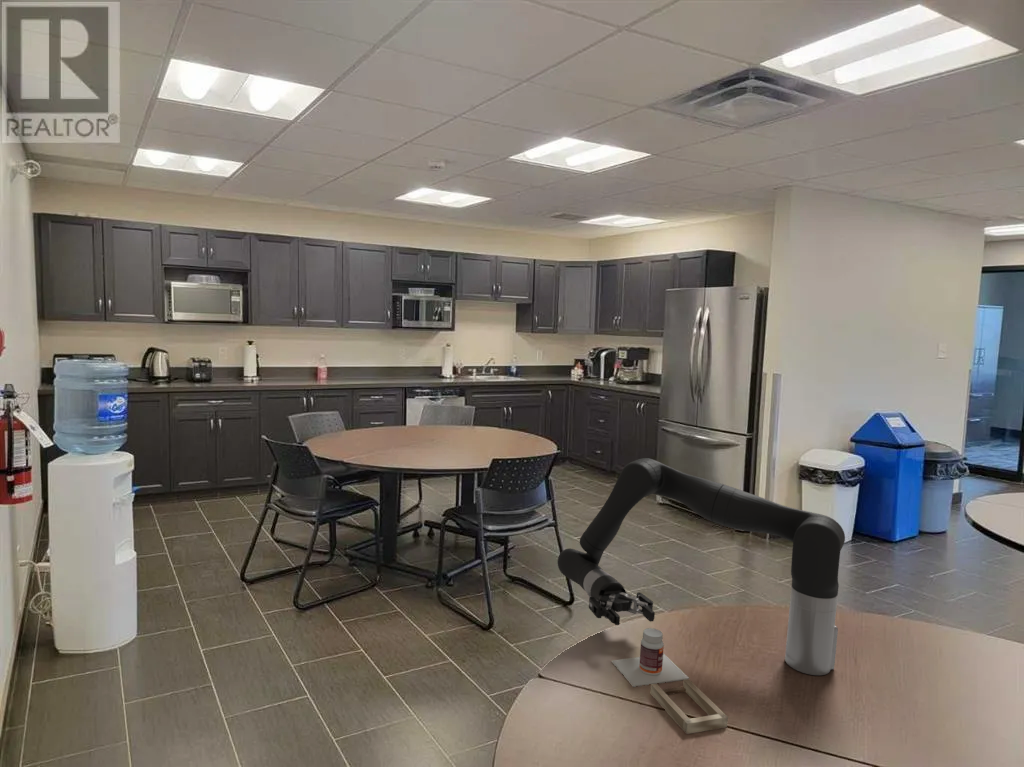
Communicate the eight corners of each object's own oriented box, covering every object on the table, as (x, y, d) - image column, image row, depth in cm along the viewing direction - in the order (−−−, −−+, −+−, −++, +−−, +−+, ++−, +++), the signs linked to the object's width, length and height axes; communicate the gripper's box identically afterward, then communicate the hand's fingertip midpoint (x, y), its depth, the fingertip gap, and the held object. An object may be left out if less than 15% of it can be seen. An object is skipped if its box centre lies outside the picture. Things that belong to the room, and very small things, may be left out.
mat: (664, 655, 146) (664, 653, 146) (689, 679, 136) (689, 677, 136) (611, 661, 142) (611, 660, 142) (633, 687, 132) (633, 685, 132)
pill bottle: (662, 677, 136) (664, 639, 135) (639, 674, 137) (641, 636, 136) (661, 665, 140) (664, 628, 140) (639, 662, 141) (641, 625, 141)
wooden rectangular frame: (687, 688, 133) (688, 679, 133) (726, 727, 120) (727, 716, 120) (650, 693, 130) (651, 684, 130) (686, 734, 118) (687, 723, 118)
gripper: (578, 576, 157) (607, 606, 142) (630, 572, 162) (665, 600, 146) (576, 606, 158) (605, 638, 143) (628, 601, 163) (662, 632, 147)
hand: (635, 619), depth 145 cm, fingers open, 8 cm apart
